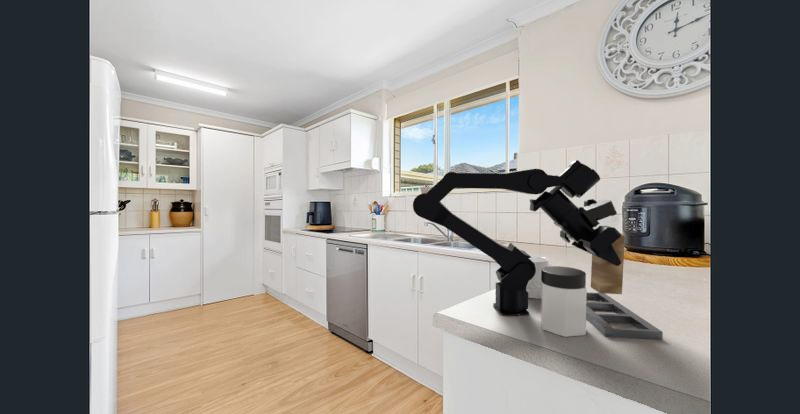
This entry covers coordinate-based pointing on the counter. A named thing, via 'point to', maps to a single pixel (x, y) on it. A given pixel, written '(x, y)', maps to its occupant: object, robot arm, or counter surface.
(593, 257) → the oak block
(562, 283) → the jar
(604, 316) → the rail plate
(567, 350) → the counter surface
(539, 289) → the white cup
